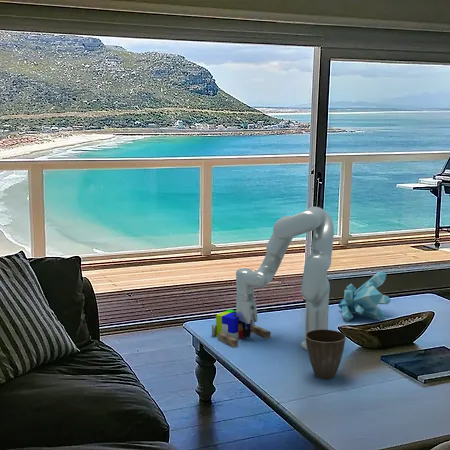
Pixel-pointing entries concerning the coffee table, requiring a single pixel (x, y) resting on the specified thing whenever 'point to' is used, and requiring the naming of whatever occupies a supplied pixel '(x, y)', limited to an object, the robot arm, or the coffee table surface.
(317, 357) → the plant pot
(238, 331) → the puzzle toy
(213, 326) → the slate goal posts
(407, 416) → the coffee table surface
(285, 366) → the coffee table surface
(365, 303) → the crystal cluster
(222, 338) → the walnut channel
